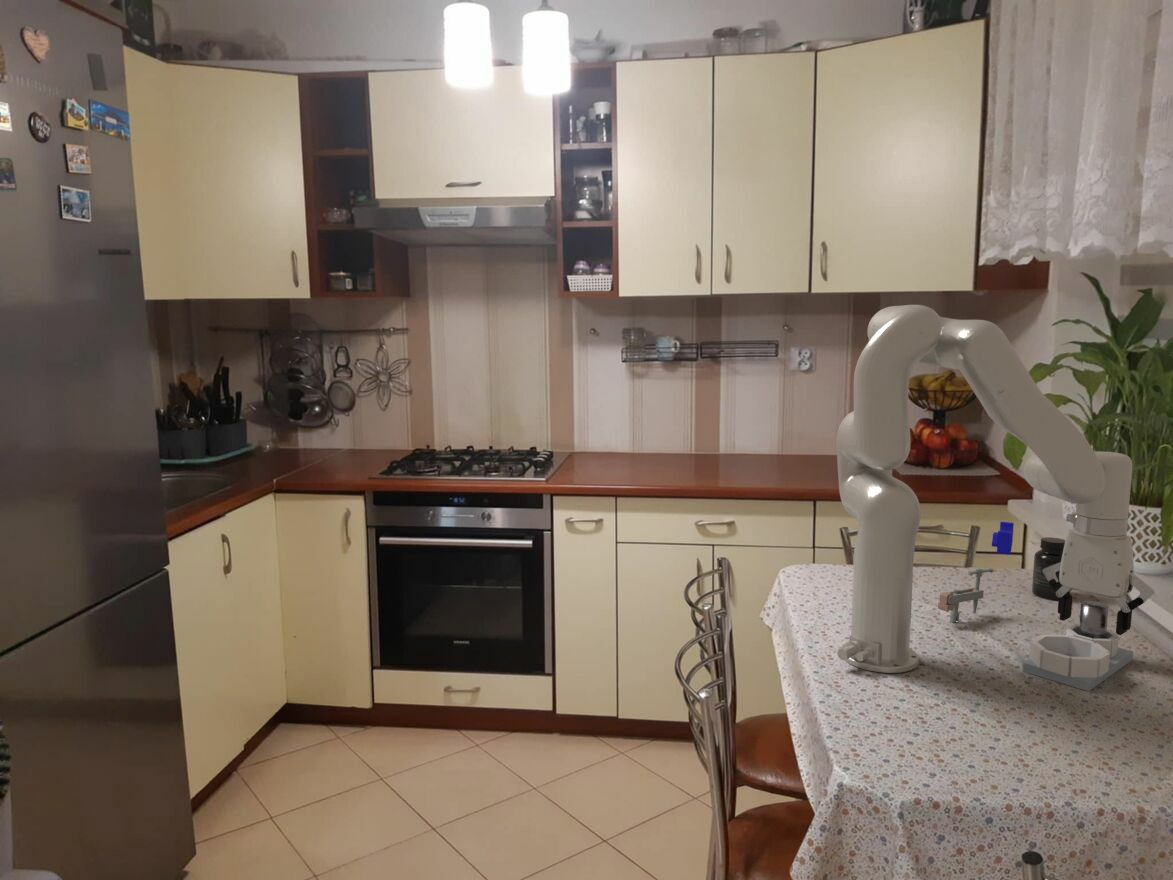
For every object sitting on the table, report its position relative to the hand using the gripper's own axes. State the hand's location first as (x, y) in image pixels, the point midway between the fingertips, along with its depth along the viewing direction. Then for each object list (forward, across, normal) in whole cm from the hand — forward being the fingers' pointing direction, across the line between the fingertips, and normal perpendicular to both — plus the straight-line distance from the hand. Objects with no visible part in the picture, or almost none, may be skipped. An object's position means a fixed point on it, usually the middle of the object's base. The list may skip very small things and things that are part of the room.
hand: (1092, 625), depth 143 cm
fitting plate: (+6, 0, -5) cm, 8 cm away
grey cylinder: (+4, 0, 0) cm, 4 cm away
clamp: (+6, -23, +2) cm, 24 cm away
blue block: (+6, -41, +58) cm, 71 cm away
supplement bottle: (+6, -18, +29) cm, 35 cm away
